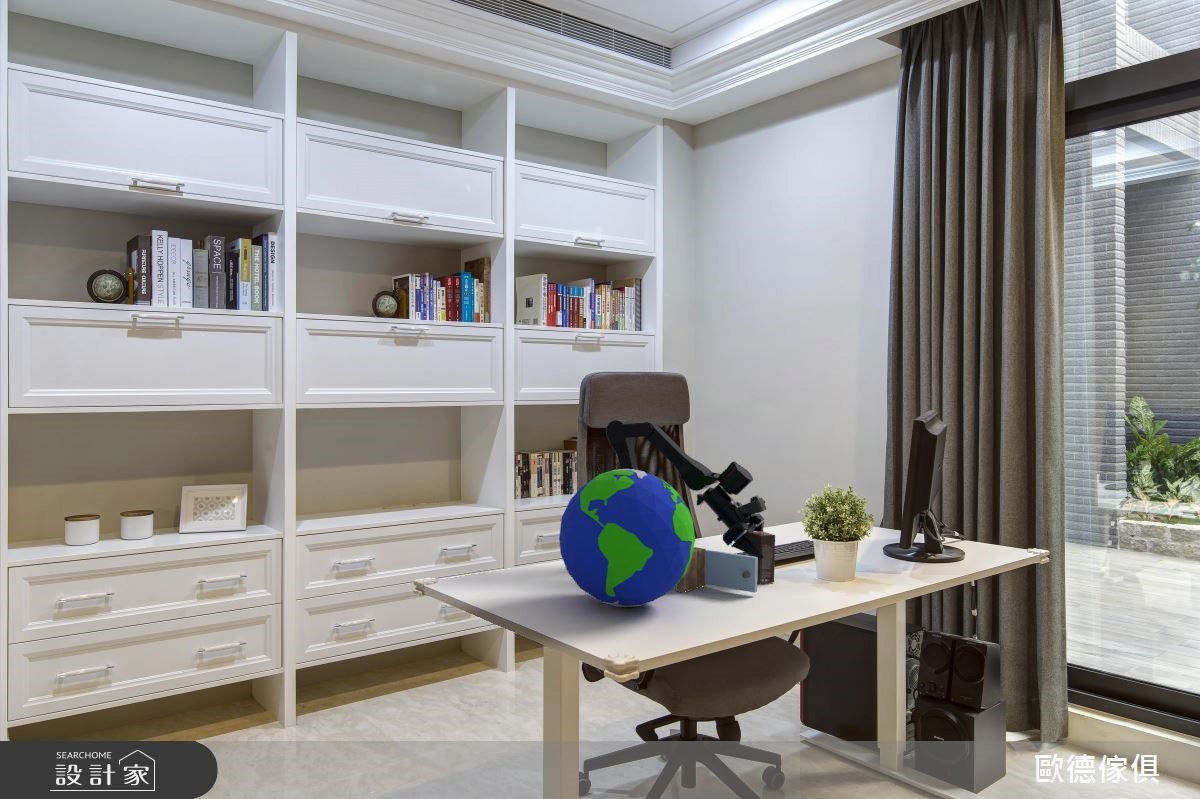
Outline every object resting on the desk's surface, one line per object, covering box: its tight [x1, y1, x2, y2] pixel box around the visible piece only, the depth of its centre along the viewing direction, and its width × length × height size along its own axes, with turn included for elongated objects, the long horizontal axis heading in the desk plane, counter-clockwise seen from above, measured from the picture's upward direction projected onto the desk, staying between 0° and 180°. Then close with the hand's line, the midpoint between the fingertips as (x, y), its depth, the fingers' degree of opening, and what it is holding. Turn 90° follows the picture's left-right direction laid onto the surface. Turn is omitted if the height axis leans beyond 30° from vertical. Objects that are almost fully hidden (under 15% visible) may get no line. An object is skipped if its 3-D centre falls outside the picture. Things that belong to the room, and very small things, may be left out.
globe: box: [558, 468, 696, 608], centre depth 181 cm, size 30×30×30 cm
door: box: [705, 549, 758, 594], centre depth 193 cm, size 13×2×8 cm, turn 54°
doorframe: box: [676, 546, 707, 593], centre depth 202 cm, size 22×3×9 cm, turn 142°
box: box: [748, 530, 776, 585], centre depth 205 cm, size 6×4×12 cm
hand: (766, 554), depth 204 cm, fingers open, 9 cm apart
